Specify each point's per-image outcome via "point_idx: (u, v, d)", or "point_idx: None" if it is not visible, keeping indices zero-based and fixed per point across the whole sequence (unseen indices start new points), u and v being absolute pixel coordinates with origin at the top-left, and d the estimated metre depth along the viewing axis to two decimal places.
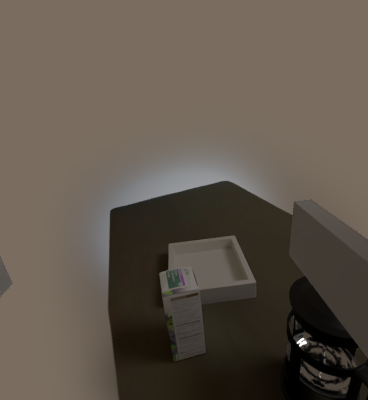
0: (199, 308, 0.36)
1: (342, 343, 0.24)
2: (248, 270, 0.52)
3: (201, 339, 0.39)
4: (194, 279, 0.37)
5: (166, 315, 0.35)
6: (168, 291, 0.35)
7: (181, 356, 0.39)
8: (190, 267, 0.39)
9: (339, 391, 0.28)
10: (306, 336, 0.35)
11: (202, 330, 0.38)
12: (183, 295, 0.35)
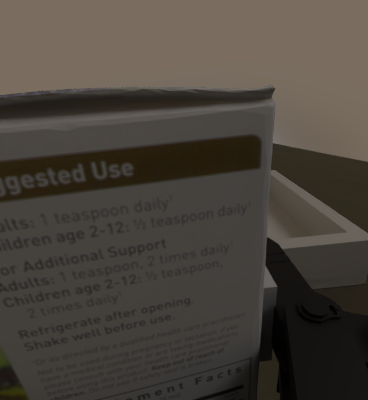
0: (250, 304, 0.05)
1: None
2: (336, 215, 0.20)
3: None
4: None
5: None
6: None
7: None
8: None
9: None
10: None
11: None
12: (99, 151, 0.03)
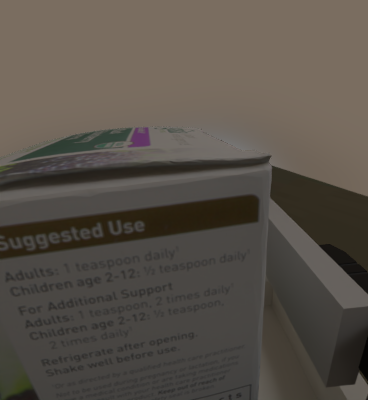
0: (250, 337, 0.05)
1: None
2: None
3: None
4: None
5: None
6: None
7: None
8: (194, 128, 0.08)
9: None
10: None
11: None
12: (116, 212, 0.04)
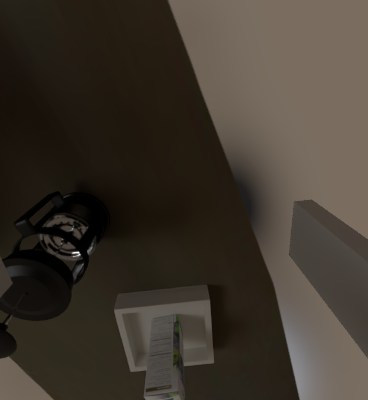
0: (148, 370, 0.40)
1: (32, 253, 0.26)
2: (119, 324, 0.46)
3: (152, 334, 0.46)
4: None
5: (177, 367, 0.40)
6: (173, 396, 0.37)
7: (171, 318, 0.49)
8: None
9: (59, 217, 0.34)
10: (75, 257, 0.37)
11: (150, 343, 0.45)
12: (159, 390, 0.37)
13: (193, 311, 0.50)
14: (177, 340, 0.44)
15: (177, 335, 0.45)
